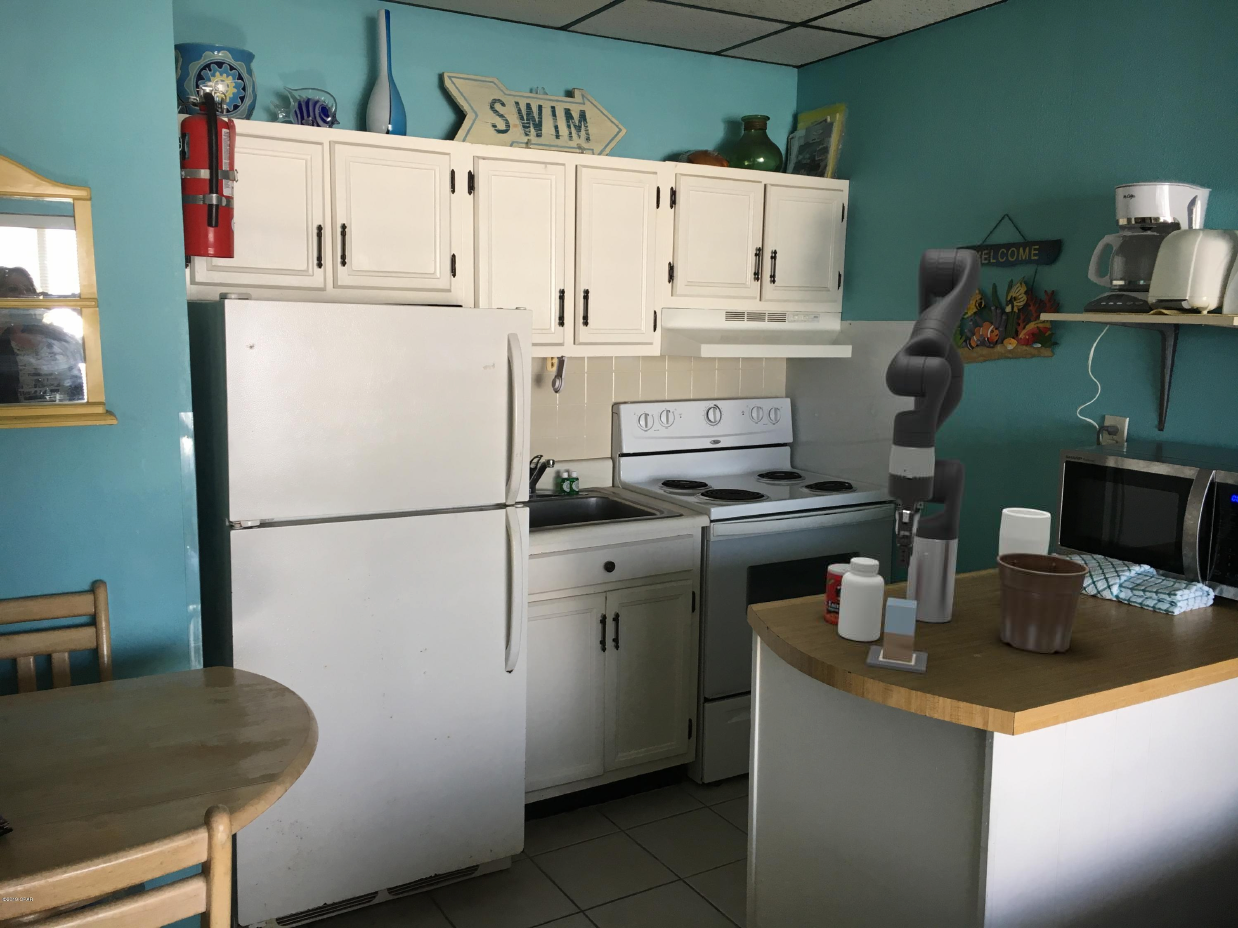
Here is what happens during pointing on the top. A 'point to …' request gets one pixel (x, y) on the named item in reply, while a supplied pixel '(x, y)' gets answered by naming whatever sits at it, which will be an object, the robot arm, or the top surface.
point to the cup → (1024, 531)
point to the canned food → (834, 591)
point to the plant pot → (1039, 600)
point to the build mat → (916, 665)
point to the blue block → (900, 616)
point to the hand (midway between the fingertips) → (904, 561)
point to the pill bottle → (861, 601)
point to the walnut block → (898, 647)
